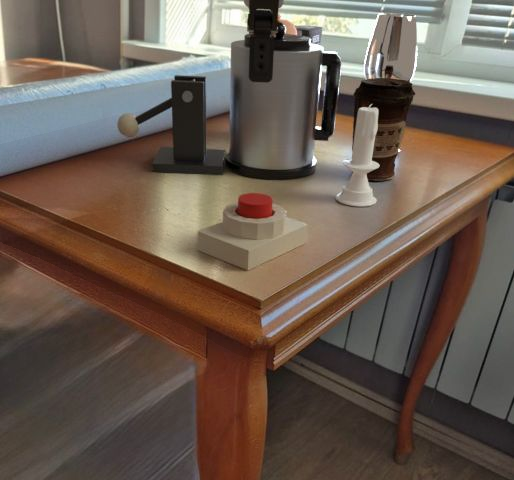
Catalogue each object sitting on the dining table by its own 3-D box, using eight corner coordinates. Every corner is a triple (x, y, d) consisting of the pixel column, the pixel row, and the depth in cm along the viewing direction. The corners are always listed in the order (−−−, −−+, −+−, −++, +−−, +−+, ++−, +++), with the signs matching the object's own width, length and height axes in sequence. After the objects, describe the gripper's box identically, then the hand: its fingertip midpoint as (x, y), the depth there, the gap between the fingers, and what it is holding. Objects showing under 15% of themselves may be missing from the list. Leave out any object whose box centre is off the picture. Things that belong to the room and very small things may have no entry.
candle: (364, 192, 83) (377, 98, 76) (384, 205, 79) (399, 108, 72) (328, 195, 81) (339, 100, 75) (347, 208, 77) (360, 109, 71)
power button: (256, 223, 62) (257, 207, 61) (230, 214, 64) (230, 198, 63) (278, 214, 64) (279, 198, 63) (252, 206, 66) (253, 190, 65)
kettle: (223, 177, 86) (225, 24, 75) (227, 151, 97) (229, 15, 87) (334, 182, 86) (352, 30, 76) (325, 155, 97) (339, 20, 87)
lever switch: (123, 143, 87) (111, 122, 86) (127, 137, 90) (115, 117, 88) (202, 101, 84) (191, 78, 82) (204, 96, 87) (193, 74, 85)
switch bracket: (152, 172, 86) (147, 82, 80) (160, 154, 94) (157, 71, 88) (222, 174, 87) (223, 86, 80) (225, 157, 94) (226, 75, 88)
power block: (247, 271, 61) (249, 233, 59) (197, 250, 64) (197, 214, 62) (306, 243, 67) (309, 208, 65) (258, 225, 71) (259, 192, 69)
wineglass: (373, 142, 106) (392, 11, 95) (410, 152, 101) (434, 16, 90) (344, 149, 101) (360, 12, 90) (381, 160, 97) (403, 17, 86)
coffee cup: (410, 185, 86) (428, 87, 79) (354, 185, 85) (367, 86, 78) (389, 167, 94) (403, 75, 87) (337, 167, 92) (347, 74, 85)
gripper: (225, -149, 53) (223, 68, 62) (216, -177, 42) (216, 92, 51) (311, -145, 53) (296, 71, 62) (325, -171, 42) (305, 96, 51)
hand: (260, 80), depth 57 cm, fingers closed
